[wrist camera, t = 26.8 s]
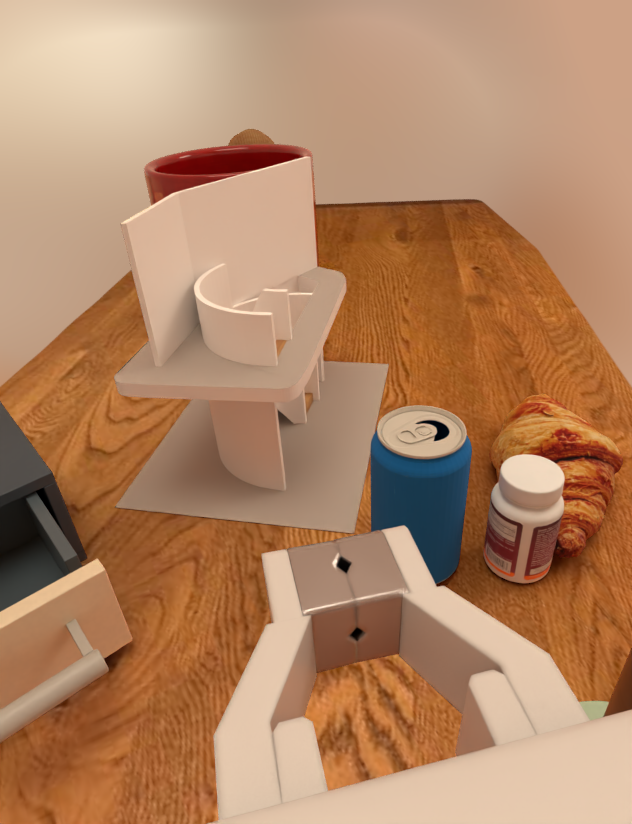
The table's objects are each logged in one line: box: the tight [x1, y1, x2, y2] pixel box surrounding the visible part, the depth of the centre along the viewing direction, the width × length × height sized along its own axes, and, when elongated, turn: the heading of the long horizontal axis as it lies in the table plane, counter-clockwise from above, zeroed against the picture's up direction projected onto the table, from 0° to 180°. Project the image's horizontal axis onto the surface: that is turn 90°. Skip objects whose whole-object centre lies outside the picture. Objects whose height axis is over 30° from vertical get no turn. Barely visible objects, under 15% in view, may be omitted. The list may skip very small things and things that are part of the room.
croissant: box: [489, 394, 623, 558], centre depth 47 cm, size 21×10×8 cm, turn 168°
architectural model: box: [114, 157, 389, 533], centre depth 52 cm, size 28×21×23 cm
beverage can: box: [371, 406, 472, 584], centre depth 39 cm, size 6×6×12 cm
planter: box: [144, 144, 319, 267], centre depth 83 cm, size 23×23×20 cm
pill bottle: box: [484, 454, 565, 583], centre depth 39 cm, size 5×5×8 cm
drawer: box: [0, 491, 133, 743], centre depth 35 cm, size 18×12×7 cm, turn 40°
